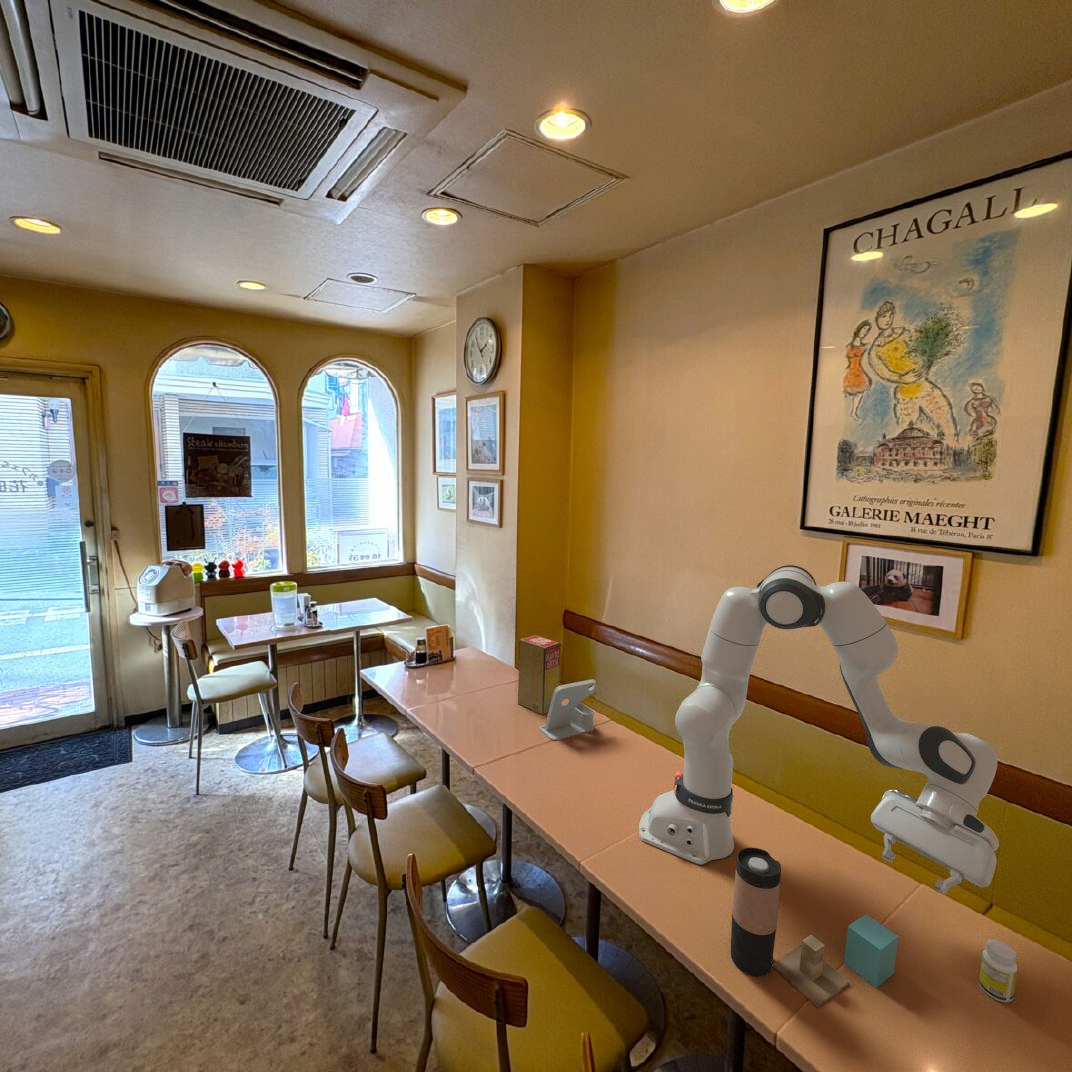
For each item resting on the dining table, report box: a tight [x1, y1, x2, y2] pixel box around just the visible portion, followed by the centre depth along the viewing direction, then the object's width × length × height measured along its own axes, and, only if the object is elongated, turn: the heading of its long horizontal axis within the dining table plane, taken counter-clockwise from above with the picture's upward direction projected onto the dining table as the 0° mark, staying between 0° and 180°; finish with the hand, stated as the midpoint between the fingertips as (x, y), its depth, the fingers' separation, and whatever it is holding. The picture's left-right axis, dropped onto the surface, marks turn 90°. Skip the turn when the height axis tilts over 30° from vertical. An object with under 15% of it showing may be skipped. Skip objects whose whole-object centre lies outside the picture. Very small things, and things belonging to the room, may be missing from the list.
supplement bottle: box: [978, 938, 1018, 1003], centre depth 99 cm, size 5×5×8 cm
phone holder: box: [538, 678, 598, 742], centre depth 191 cm, size 17×10×18 cm, turn 119°
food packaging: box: [517, 634, 562, 716], centre depth 208 cm, size 13×9×25 cm
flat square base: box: [771, 934, 850, 1008], centre depth 101 cm, size 9×9×6 cm
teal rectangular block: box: [843, 913, 899, 989], centre depth 103 cm, size 6×6×8 cm
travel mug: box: [730, 847, 782, 978], centre depth 103 cm, size 8×8×20 cm
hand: (911, 874), depth 108 cm, fingers open, 8 cm apart
